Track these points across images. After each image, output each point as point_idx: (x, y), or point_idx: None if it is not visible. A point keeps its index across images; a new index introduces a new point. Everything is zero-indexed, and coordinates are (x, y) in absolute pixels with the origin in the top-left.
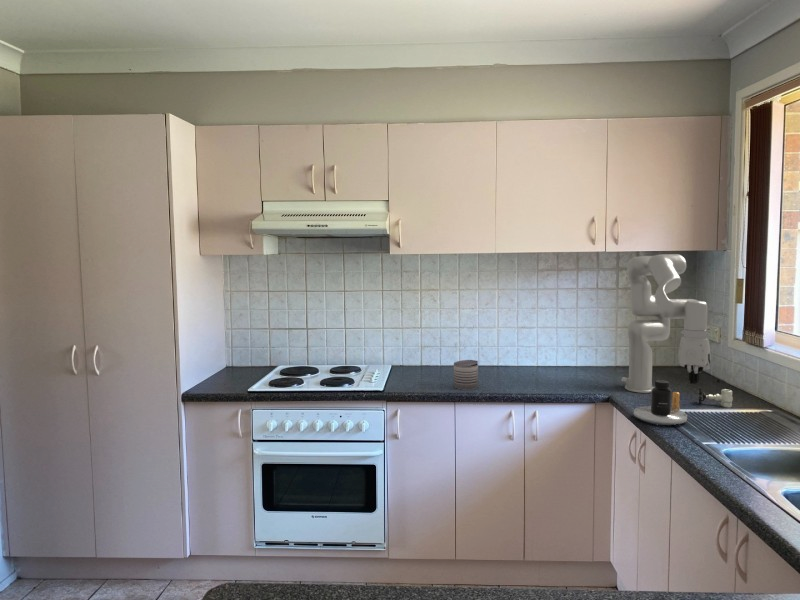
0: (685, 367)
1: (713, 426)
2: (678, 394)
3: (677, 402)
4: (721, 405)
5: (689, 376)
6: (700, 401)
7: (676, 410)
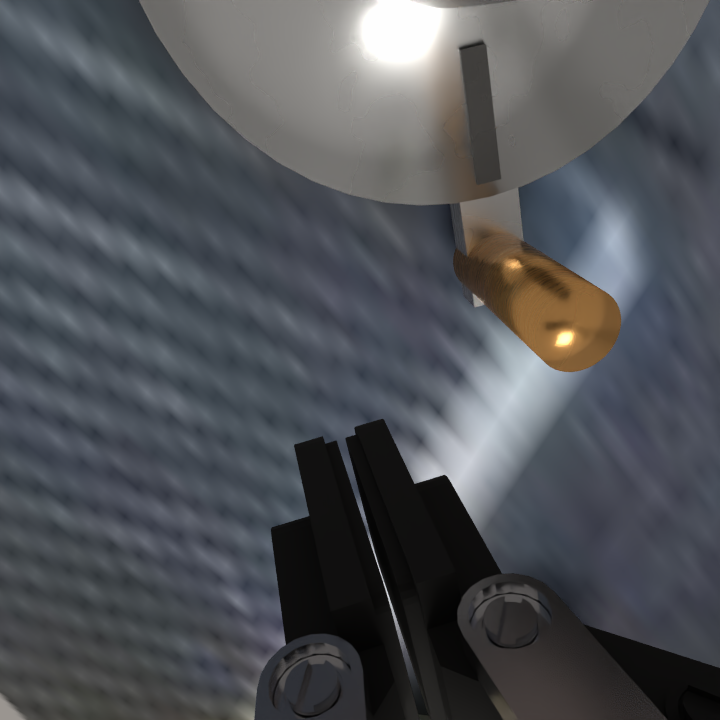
0: (703, 673)
1: (6, 253)
2: (530, 322)
3: (493, 277)
4: (423, 717)
5: (463, 526)
6: None
7: (414, 170)
